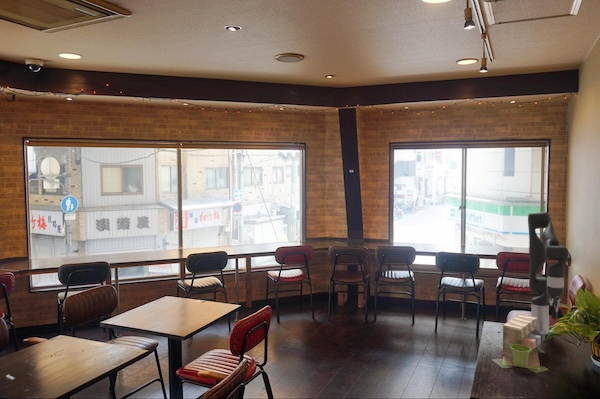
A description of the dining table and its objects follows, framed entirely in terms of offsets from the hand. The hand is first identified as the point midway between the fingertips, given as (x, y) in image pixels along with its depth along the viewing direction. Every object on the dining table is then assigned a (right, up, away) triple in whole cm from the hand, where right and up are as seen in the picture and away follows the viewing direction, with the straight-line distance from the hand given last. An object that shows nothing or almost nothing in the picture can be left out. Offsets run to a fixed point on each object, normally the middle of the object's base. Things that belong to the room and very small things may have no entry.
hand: (554, 318), depth 240 cm
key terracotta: (-12, -15, +2) cm, 19 cm away
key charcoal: (-2, -14, +13) cm, 19 cm away
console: (-12, -20, +12) cm, 26 cm away
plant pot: (-20, -22, -5) cm, 30 cm away
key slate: (-7, -15, +8) cm, 18 cm away
